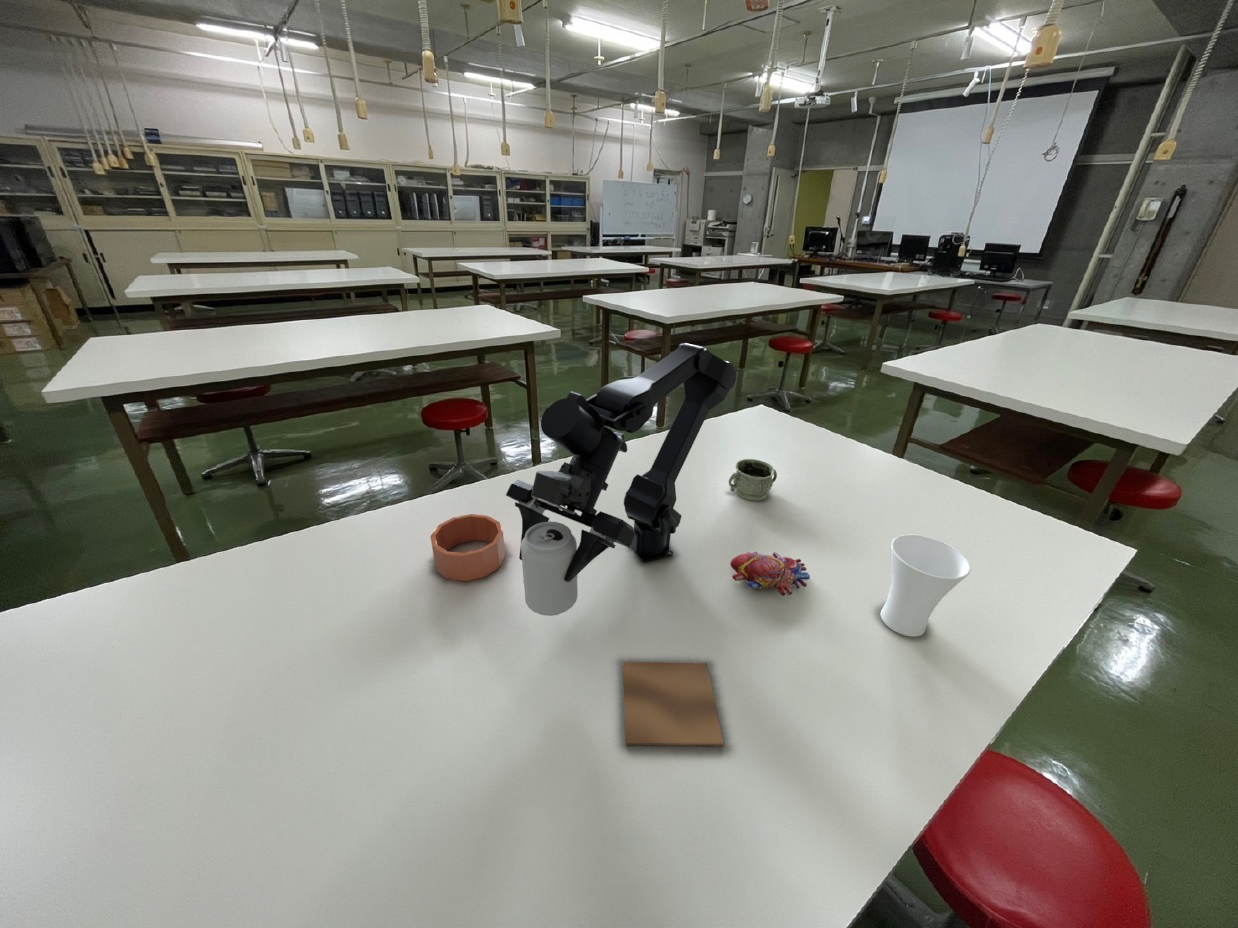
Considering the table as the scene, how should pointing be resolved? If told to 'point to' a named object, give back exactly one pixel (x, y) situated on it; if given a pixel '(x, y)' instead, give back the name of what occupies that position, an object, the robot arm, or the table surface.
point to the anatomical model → (769, 571)
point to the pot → (469, 562)
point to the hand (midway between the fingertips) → (543, 570)
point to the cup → (920, 581)
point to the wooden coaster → (669, 704)
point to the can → (548, 568)
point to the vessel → (752, 479)
